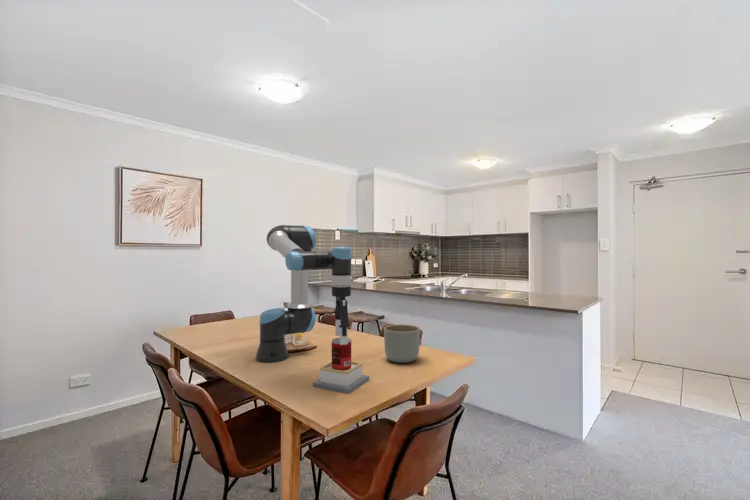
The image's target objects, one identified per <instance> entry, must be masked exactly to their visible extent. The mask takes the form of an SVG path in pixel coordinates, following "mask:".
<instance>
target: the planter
mask: <svg viewBox="0 0 750 500" xmlns="http://www.w3.org/2000/svg"><path fill="white" fill-rule="evenodd" d="M420 332H421V328H420V327H419V326H416V325H414V324H413V325H412V324H402V323H401V324H388V325H386V326H384V327H383V338H384V343H383V344H384V354H385V355H386V357H387V359H388V360H389V361H391V362H392V363H396V364H408V363H412V362H414V361H415V360H416V359H417V358H418V356H419V354H420V340H421V339H420V338H421V337H420V336H421V335H420Z"/></svg>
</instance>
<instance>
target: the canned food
mask: <svg viewBox="0 0 750 500" xmlns="http://www.w3.org/2000/svg"><path fill="white" fill-rule="evenodd" d="M351 361H352V339H351V338H350V337H348V344H345V345H340V337H335V338H332V339H331V362H332V368H333V369H336V370H342V371H344V370H348V369H350V368H351Z"/></svg>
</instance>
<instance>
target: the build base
mask: <svg viewBox="0 0 750 500" xmlns="http://www.w3.org/2000/svg"><path fill="white" fill-rule="evenodd" d="M319 369H320V370H319V379H317V380H316V381H314V382H312V387H313V388H317V389H323V390H329V391H333V392H338V393H344V394H351V393H352V392H353V391H355V390H357V389H358V388H360V387H361V386H362V385H364V384H365V383H367V382H369V380H370V375H365V374H363V363H362V362H358V361H352V360H351V368H350V369H348V370H344V371H342V370H336V369H333V368H332V361H331V362H328V363H326V364H324V365H322V366H321V367H320V368H319Z"/></svg>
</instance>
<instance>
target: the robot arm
mask: <svg viewBox="0 0 750 500" xmlns="http://www.w3.org/2000/svg"><path fill="white" fill-rule="evenodd" d="M315 233H316V232H315V231H314V229H313V227H311V226H308V225H285V224H281V225H277V226H273V228H271V229H270V230H269V231H268V232H267V235H266V243H267V245H268V246H269V248H271V250H273V251H277V252H278V253H279V254H280V255H281V256H282V257H283V258H284V259H285V266H286V269H287V270H288V271H290V304H289V305H288V306H287V310H286V309H285V308H282V307H277V308H271V309H267V310H264V311H262V312H261V314H260V316H259V345H258V348H257V352H256V354H255V360H256V361H257V360H258V361H257V362H260V363H261V362H262V363H276V362H281V361H285V360H287V359H288V358H289V350H288V348H287V344H286V341H285V340H286V339H285V338H286V336H287V335H293V334H294V335H295V334H305V333H309V332H311V331H312V330H313V329H314V327H315V325H316V319H317V317H316V312H315V310H314V309H313V308H312V305H311V304H310V303H309V271H317V270H318V271H319V270H320V271H323V270H331V285H332V287H331V296H332V297H334V298H335V310H334V317H335V325H334V326H335V327H334V328H335V335H334V336H335V337H338V336H339V338H340V345H345V344H348V338H349V337H348V335H349V334H348V333H349V331H348V327H349V326H350V324H349V323H350V322H349V313H348V312H349V311H348V310H349V309H348V300H346V298H347V297H350V296H351V295H352V286H351V284H352V280H353V277H352V256H353V255H352V249H351V247H349V246H333V247H332V249H331V250H324V251H322V250H321V251H320V250H319V251H318V250H317V251H312V250H313V249H314V248H316V245H317V239H316V238H317V237H316V234H315Z"/></svg>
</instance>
